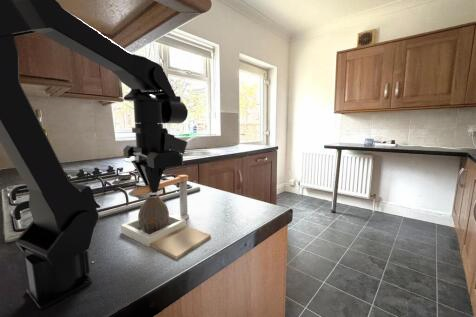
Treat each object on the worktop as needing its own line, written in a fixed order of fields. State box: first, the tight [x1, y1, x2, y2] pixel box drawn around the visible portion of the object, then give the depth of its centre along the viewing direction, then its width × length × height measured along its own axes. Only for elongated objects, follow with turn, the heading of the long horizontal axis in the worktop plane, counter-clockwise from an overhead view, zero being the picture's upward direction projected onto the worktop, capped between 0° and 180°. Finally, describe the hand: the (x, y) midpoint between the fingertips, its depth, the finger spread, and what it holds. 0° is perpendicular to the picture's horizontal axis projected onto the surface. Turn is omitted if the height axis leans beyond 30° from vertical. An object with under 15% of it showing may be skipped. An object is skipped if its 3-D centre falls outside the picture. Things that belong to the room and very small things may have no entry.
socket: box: [120, 181, 190, 247], centre depth 54 cm, size 16×11×10 cm
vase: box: [137, 193, 170, 235], centre depth 52 cm, size 7×7×9 cm
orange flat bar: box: [132, 174, 189, 196], centre depth 53 cm, size 16×3×1 cm, turn 151°
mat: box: [149, 225, 212, 260], centre depth 48 cm, size 10×10×1 cm
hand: (152, 191), depth 50 cm, fingers closed, pressing on orange flat bar
